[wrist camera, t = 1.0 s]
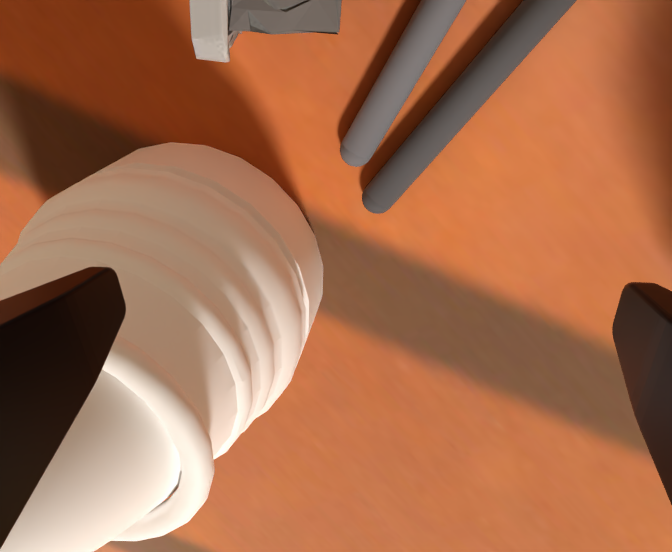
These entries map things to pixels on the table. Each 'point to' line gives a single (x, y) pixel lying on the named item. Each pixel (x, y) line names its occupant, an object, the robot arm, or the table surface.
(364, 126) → the cord
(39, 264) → the honey pot
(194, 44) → the electrical switch
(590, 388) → the table surface
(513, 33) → the cord
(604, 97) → the table surface
